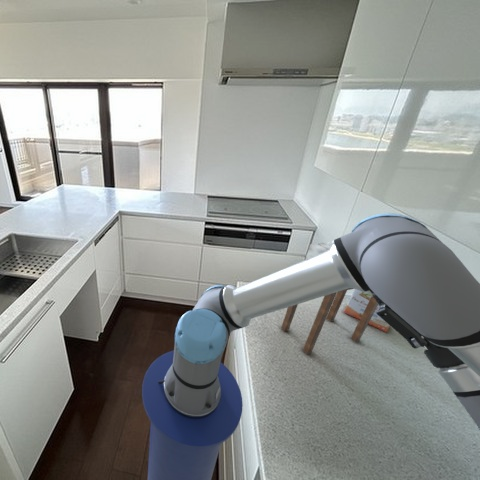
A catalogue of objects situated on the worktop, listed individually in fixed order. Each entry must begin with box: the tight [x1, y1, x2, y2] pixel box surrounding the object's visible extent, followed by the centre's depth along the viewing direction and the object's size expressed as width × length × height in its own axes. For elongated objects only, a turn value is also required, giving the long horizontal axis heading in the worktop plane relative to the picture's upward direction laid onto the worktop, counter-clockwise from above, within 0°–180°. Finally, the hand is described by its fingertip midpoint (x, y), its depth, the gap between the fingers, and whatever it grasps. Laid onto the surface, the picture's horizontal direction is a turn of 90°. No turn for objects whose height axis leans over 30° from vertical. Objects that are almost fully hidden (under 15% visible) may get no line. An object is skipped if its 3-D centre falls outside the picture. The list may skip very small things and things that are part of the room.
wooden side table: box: [280, 242, 378, 355], centre depth 83 cm, size 12×23×34 cm, turn 107°
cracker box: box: [343, 289, 391, 333], centre depth 95 cm, size 14×6×21 cm, turn 42°
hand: (388, 276), depth 66 cm, fingers open, 13 cm apart
